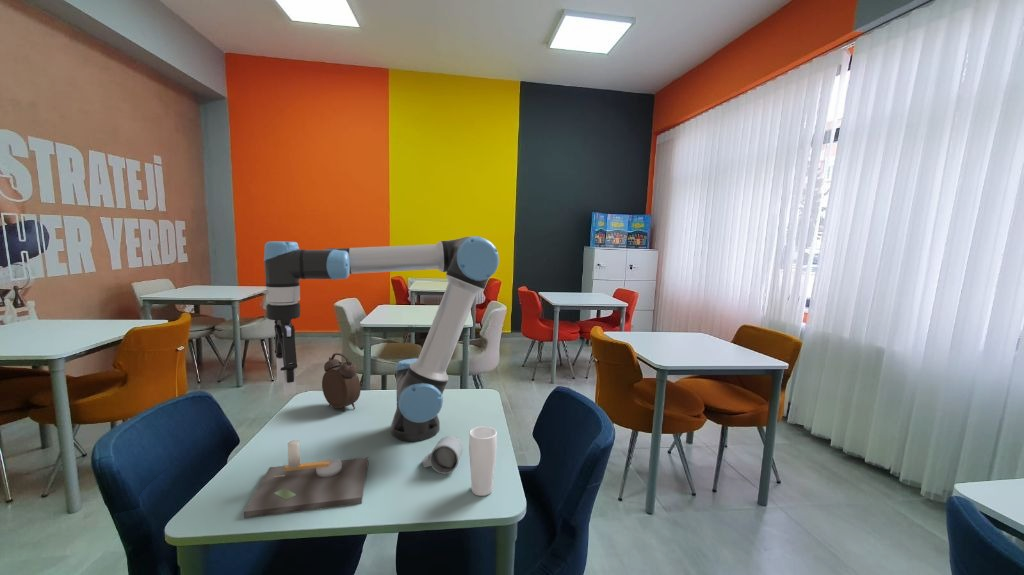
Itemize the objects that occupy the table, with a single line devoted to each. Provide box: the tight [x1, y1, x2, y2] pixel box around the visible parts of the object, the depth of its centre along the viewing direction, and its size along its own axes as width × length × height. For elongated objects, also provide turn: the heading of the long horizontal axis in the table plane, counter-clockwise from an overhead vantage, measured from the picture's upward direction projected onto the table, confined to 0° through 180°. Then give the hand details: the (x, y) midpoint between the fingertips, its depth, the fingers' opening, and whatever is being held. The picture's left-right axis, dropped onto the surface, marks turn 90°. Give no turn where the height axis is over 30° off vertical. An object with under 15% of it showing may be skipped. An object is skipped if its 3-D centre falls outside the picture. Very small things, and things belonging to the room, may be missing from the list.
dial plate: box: [243, 456, 369, 519], centre depth 101 cm, size 24×18×2 cm
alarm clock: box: [321, 352, 362, 412], centre depth 147 cm, size 14×7×20 cm, turn 59°
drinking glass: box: [468, 426, 498, 497], centre depth 101 cm, size 7×7×15 cm
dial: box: [285, 439, 342, 477], centre depth 104 cm, size 13×6×8 cm, turn 104°
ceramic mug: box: [421, 435, 464, 475], centre depth 112 cm, size 11×8×8 cm
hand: (286, 387), depth 107 cm, fingers open, 10 cm apart
